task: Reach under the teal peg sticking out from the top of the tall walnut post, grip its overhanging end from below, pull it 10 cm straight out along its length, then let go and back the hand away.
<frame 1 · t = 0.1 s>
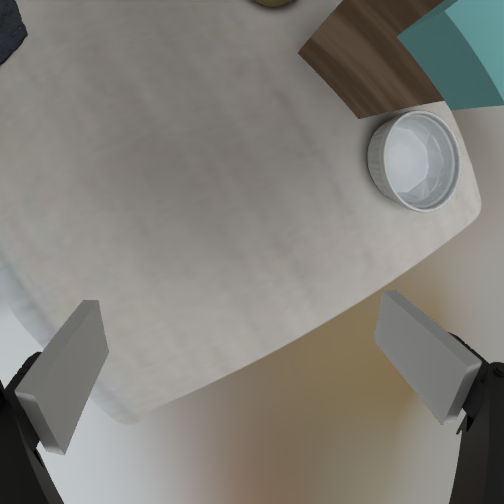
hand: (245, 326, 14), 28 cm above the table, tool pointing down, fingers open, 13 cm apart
post: (329, 85, 37), on the table
ramekin: (398, 159, 41), on the table
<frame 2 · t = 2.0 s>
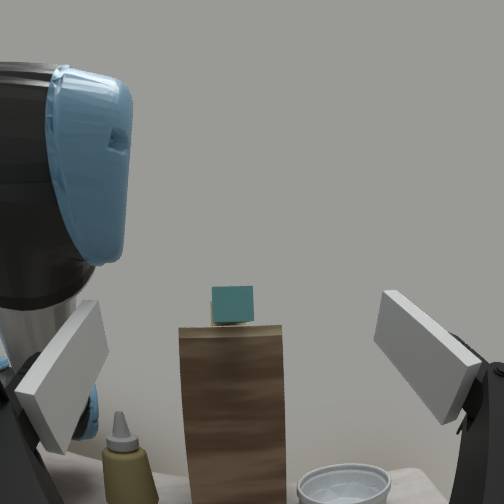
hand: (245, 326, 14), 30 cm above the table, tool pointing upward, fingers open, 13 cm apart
peg: (229, 310, 38), point 32 cm above the table, slide at 0.0 cm
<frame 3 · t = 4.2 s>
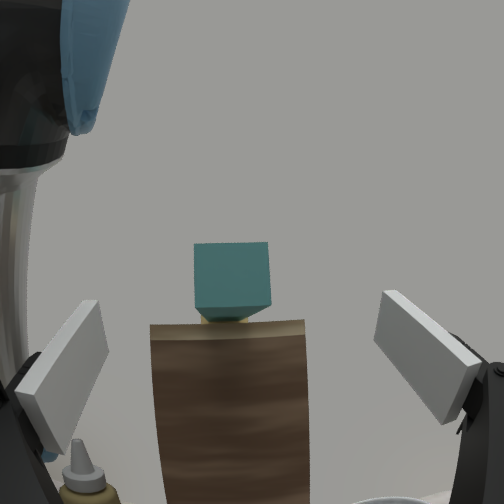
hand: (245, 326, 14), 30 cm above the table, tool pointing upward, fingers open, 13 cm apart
peg: (225, 299, 26), point 32 cm above the table, slide at 0.0 cm
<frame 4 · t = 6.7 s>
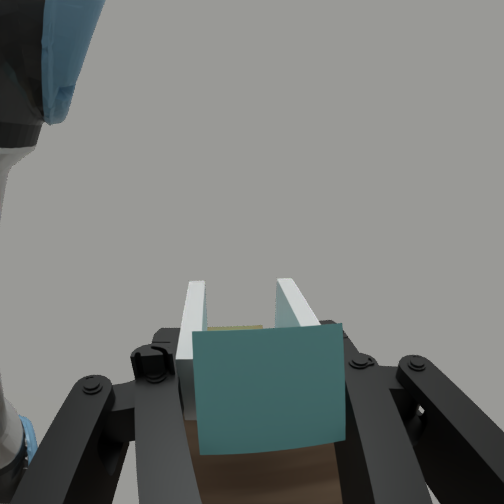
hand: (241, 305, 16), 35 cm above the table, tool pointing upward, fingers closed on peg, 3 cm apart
peg: (240, 355, 18), point 32 cm above the table, slide at 0.0 cm, touching gripper
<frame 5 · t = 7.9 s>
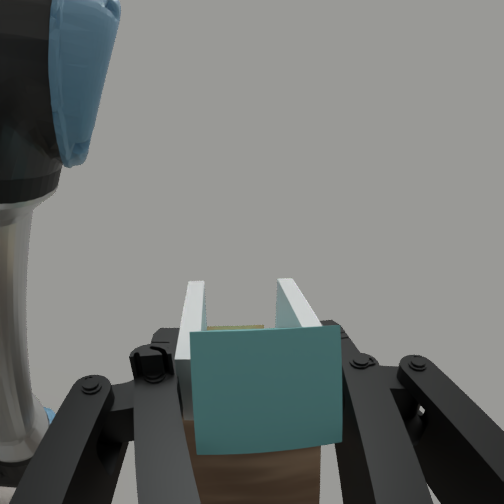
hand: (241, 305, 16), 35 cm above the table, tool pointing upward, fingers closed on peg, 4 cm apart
peg: (240, 355, 18), point 32 cm above the table, slide at 5.9 cm, touching gripper
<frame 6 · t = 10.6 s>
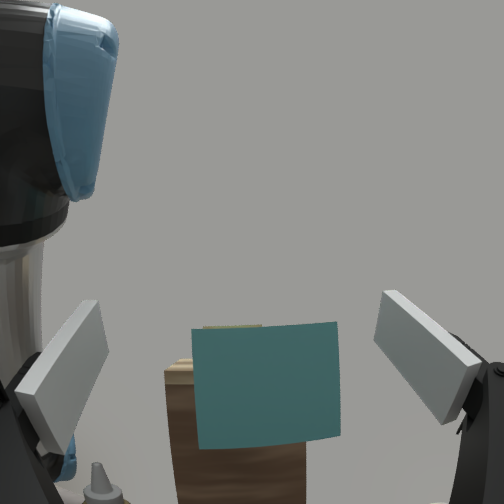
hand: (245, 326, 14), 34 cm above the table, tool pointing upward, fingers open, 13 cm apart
peg: (239, 354, 18), point 32 cm above the table, slide at 10.0 cm
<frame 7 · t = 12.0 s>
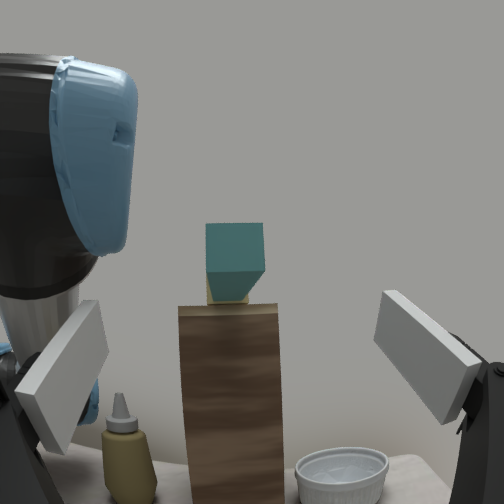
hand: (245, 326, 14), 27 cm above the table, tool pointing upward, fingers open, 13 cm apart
ramekin: (340, 501, 34), on the table
peg: (229, 277, 31), point 32 cm above the table, slide at 10.0 cm
squeeze bottle: (134, 501, 34), on the table
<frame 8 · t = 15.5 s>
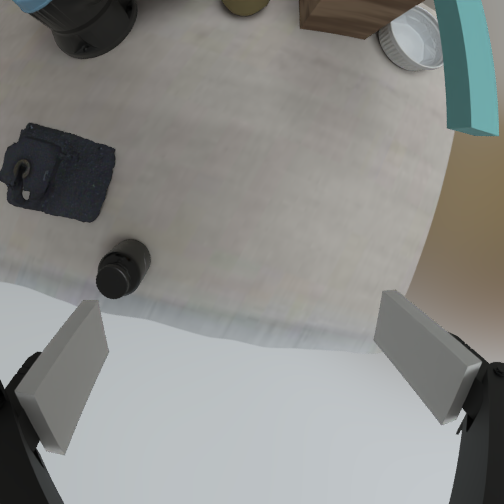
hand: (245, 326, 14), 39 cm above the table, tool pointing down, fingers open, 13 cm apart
post: (333, 33, 44), on the table
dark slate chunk: (56, 174, 47), on the table
ramekin: (402, 44, 46), on the table
supplement bottle: (132, 257, 52), on the table
peg: (459, 8, 16), point 32 cm above the table, slide at 10.0 cm
squeeze bottle: (243, 3, 41), on the table
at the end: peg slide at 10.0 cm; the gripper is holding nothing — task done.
